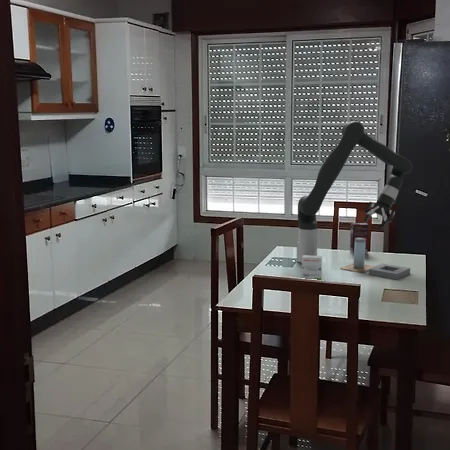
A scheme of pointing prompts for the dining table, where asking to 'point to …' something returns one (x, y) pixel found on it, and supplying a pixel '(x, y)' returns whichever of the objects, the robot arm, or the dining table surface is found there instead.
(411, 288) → the dining table surface
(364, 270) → the pad
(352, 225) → the supplement box
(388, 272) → the frame
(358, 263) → the cylinder
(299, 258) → the robot arm
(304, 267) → the ink box
